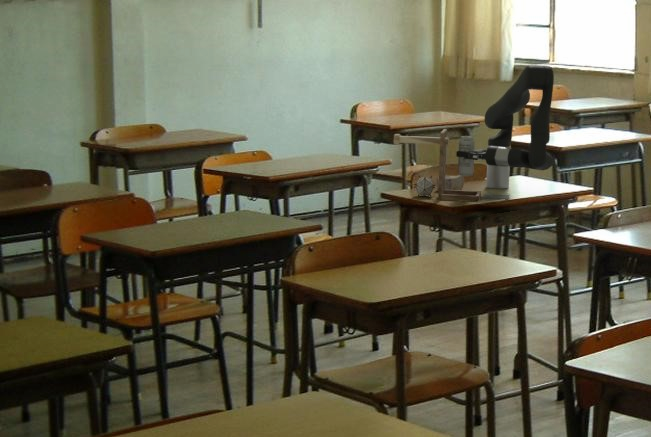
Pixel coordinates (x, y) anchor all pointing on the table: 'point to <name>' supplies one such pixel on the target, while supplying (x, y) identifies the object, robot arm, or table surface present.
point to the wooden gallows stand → (442, 193)
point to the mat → (496, 196)
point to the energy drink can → (468, 164)
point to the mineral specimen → (452, 182)
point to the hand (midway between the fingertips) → (460, 152)
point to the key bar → (418, 140)
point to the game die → (424, 186)
